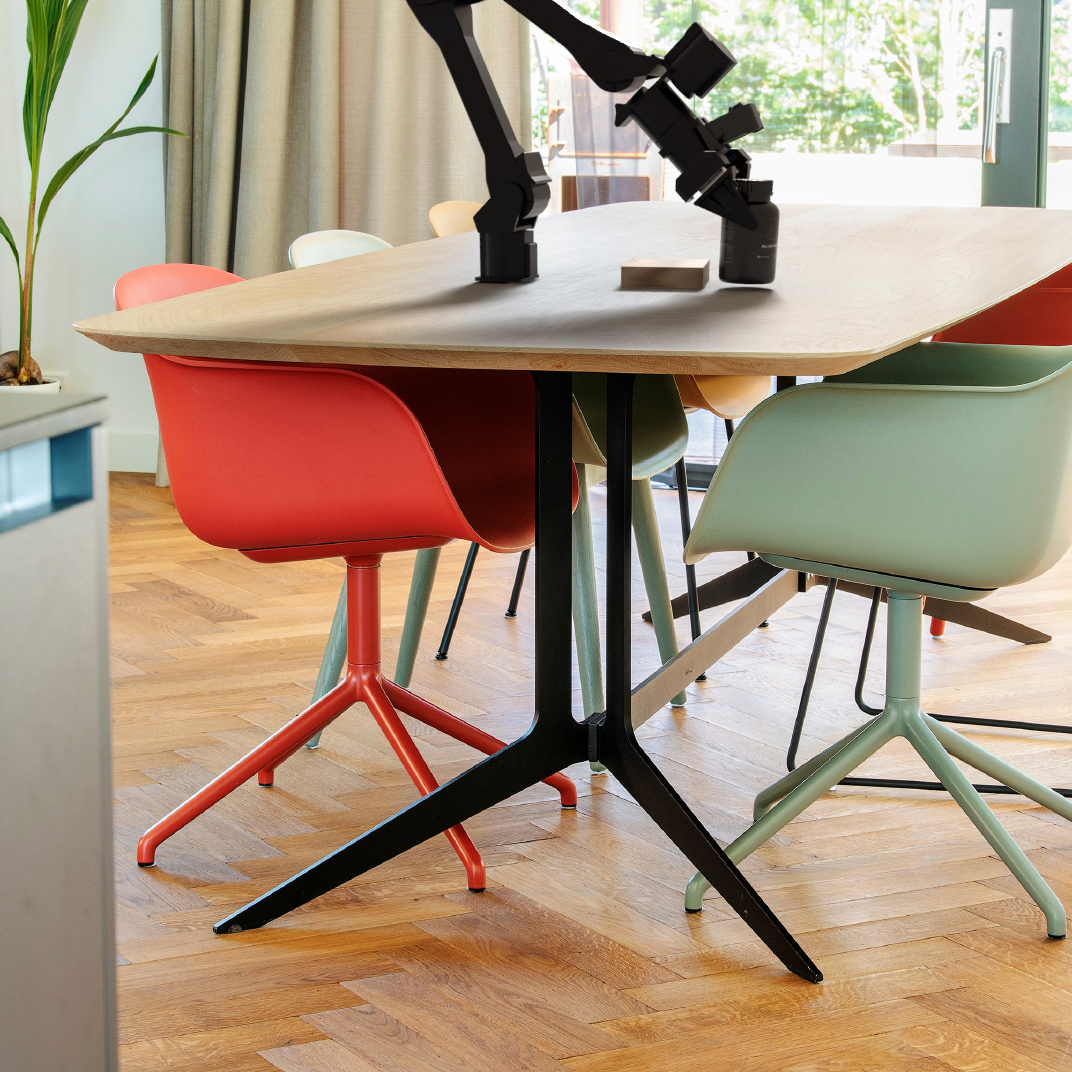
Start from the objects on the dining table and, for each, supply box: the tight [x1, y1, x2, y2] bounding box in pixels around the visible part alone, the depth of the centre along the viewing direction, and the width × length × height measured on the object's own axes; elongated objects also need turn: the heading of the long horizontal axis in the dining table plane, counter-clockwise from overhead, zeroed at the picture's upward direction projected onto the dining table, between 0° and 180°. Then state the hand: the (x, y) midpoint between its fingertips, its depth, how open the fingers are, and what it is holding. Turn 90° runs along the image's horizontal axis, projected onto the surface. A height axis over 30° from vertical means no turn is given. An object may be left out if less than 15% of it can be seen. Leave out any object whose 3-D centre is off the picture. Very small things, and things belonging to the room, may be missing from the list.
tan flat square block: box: [620, 257, 711, 290], centre depth 163 cm, size 10×10×2 cm
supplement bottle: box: [718, 178, 781, 285], centre depth 155 cm, size 7×7×12 cm
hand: (761, 226), depth 155 cm, fingers closed on supplement bottle, 7 cm apart
